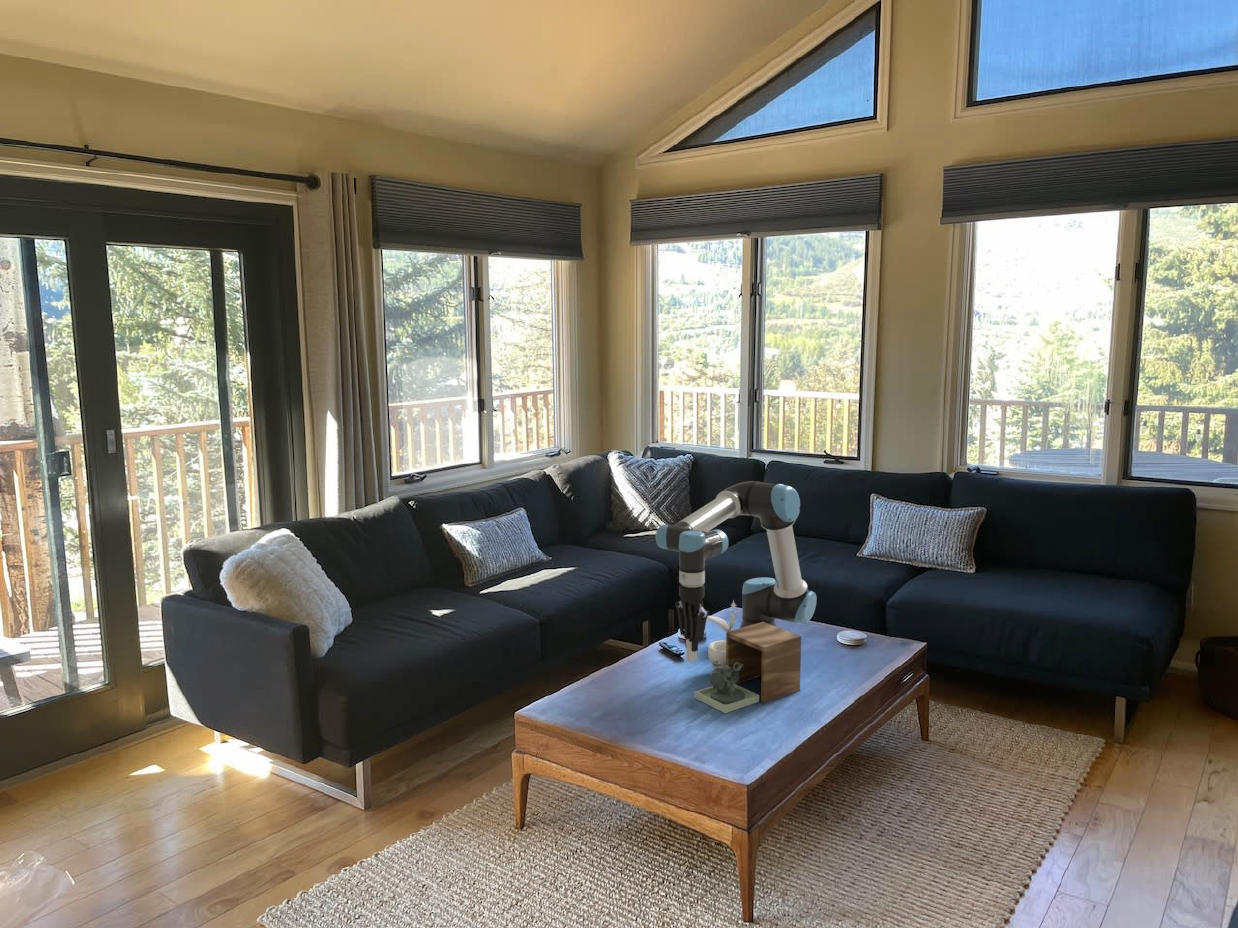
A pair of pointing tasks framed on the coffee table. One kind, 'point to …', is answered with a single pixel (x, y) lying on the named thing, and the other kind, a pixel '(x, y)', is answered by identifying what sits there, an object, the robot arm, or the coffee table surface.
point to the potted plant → (719, 647)
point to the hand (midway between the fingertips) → (691, 660)
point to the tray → (725, 708)
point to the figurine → (725, 683)
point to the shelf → (766, 658)
